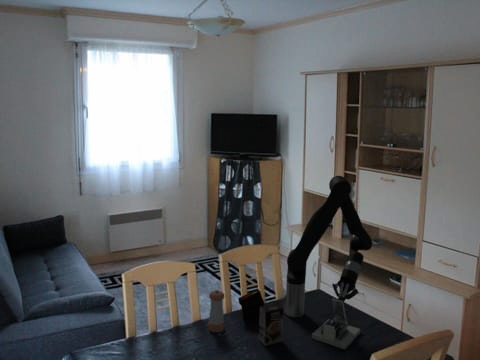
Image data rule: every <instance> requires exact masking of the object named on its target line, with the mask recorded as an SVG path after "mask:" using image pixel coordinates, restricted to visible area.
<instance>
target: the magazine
mask: <svg viewBox="0 0 480 360" xmlns="http://www.w3.org/2000/svg"><path fill="white" fill-rule="evenodd" d="M237 299H238V304H239V305H240V306H241V311H242V320H243V321H247V322H248V321H259V317H260V306H265V301H264V299H263V296H262V293H261V290H260V289H258V288H257V289H255V290H252V291H251V292H249V293H246V294H244V295H243V296H240V297H238V298H237Z"/></svg>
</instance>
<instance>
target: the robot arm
mask: <svg viewBox="0 0 480 360" xmlns="http://www.w3.org/2000/svg"><path fill="white" fill-rule="evenodd" d="M328 185H329V191H330V193H329V195H328V196H327V198H326V200H325V202H324V203H323V204H322V205H321V206H320V207H319V208H318V209H317V210H315V212H313V214H312V215H311V217H310V219H309V220H308V222H307V224H306V225H305V228H304V230H303V232H302V235H301V238H300V239H299V242H298V243H297V245H296V247H295V248H293V249H292V250H290V251H289V253H288V255H287V259H286V264H287V272H286V290H285V294H284V295H283V296H284V298H283V299H284V300H283V308H284V313H283V314H285V315H286V316H287V317H290V318H301V317H303V316H304V314H305V313H304V312H305V298H306V296H305V295H306V293H305V292H306V277H307V264H308V263H307V262H308V260H309V258H310V256H311V254H312V251H313V250H314V248H316V246H317V245H318V243H319V242H320V241H321V238H323V236H324V234H325V233H326V231H327V230H328V228H329V227H330V225H331V223H332V221H333V220H334V217H335V216H336V214H337V212H338V210H341V213H342V216H343V220H344V222H345V225H346V228H347V230H348V232H349V234H350V235H351V236H352V237H351V238H350V241H349V249H348V250H349V251H348V253H349V254H348V256H347V259H346V262H345V264H344V266H343V269H342V271H341V274H340V278H339V280H338V281H337V283H332V284H331V286H332V288H333V291H334V293H335V295H336V297H337V299H338V300H342V301H343V303H344V304H345V301H346V300H349V301H350V300H351V299H353V298H354V297H355V296H356V295H358V294H359V290H358V289H357V288H356V284H357V281H358V278H359V276H360V272H361V268H362V265H363V262H364V258H365V256H364V254H363V253H361V252H360V251H369V250H370V251H371V249H372V248H373V240H372V238H371V236H370V234H369V233H368V232H367V230H366V228H365V227H364V226H363V224H362V220H361V218H360V216H359V214H358V211H357V210H356V208H355V205H354V203H353V201H352V199H351V195H350V194H351V192H352V185H351V183H350V182H349V181H348V180H347V178H346V177H344V176H342V175H335V176H333V177H331V179H330V181H329V184H328ZM338 289H339V291H338Z"/></svg>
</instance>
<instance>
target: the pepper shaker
mask: <svg viewBox="0 0 480 360" xmlns="http://www.w3.org/2000/svg"><path fill="white" fill-rule="evenodd" d="M208 296H209V297H208V298H209V299H210V310H209V315H208V316H209V321H208V330H209V331H210V332H212V333H221V332H223V331H224V330H225V320H224V307H223V300H224V298H225V294H224V292H223V291H221V290H218V289H215V290H212V291H211V292H210V293H209V295H208Z"/></svg>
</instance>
